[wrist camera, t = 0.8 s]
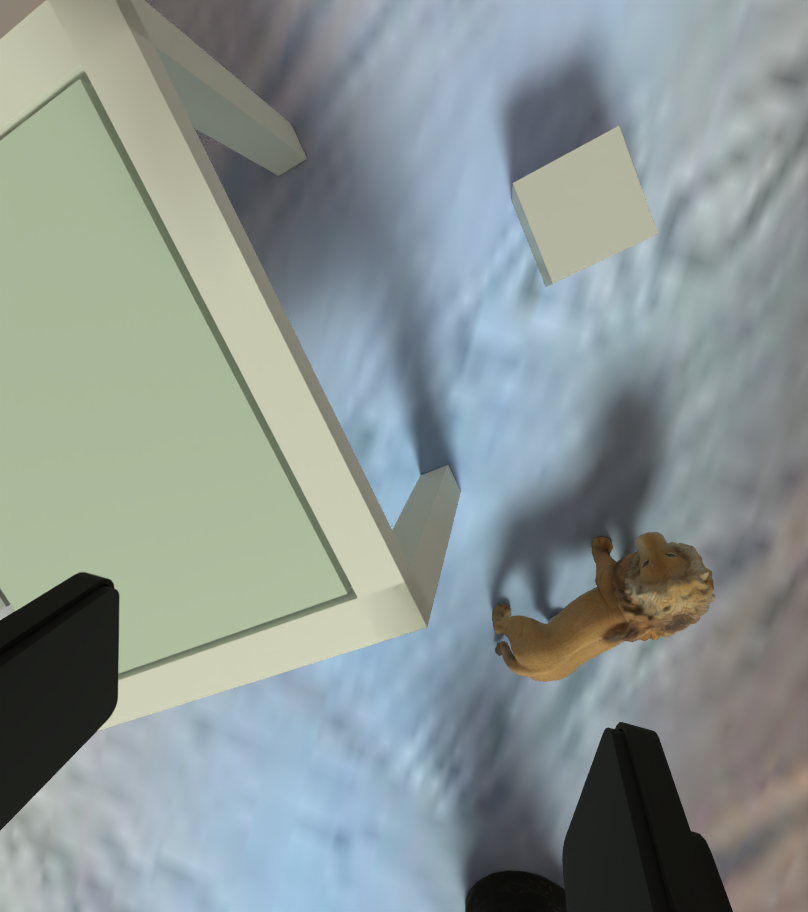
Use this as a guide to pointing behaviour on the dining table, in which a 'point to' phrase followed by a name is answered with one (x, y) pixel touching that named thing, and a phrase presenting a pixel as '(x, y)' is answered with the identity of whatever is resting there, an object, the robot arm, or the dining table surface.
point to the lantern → (515, 894)
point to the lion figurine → (611, 608)
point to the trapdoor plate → (131, 410)
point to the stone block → (582, 207)
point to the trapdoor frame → (235, 332)
